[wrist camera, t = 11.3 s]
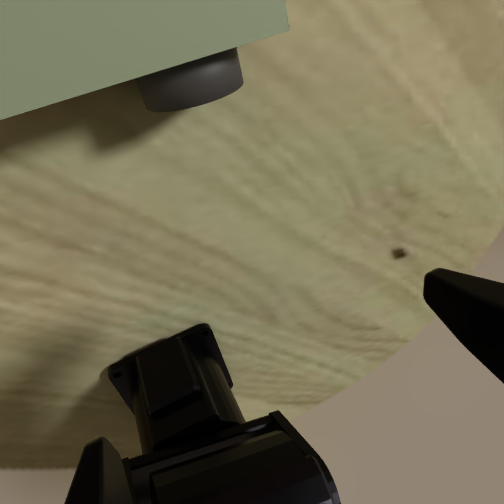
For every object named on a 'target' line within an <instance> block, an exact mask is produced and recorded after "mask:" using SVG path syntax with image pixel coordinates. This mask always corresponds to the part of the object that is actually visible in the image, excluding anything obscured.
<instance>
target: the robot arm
mask: <svg viewBox="0 0 504 504" xmlns="http://www.w3.org/2000/svg"><path fill="white" fill-rule="evenodd" d="M423 296H424V299H425V301H426V303H427V304H428V305H429V307H430V308H431V309H432V310H433V311H434V312H435V314H436V315H437V316H438V317H439V318H440V319H441V320H442V321H443V323H444V324H445V325H446V326H447V327H448V328H449V330H450V331H451V332H452V333H453V334H454V335H455V336H456V338H457V339H458V340H459V341H460V342H461V343H462V344H463V345H464V346H465V347H466V348H467V349H468V350H469V351H470V352H471V353H472V354H473V355H474V356H475V357H476V358H477V359H478V360H479V361H480V362H482V364H483V365H485V366H486V367H487V368H488V369H489V370H490V371H491V372H492V373H493V374H494V375H495V376H496V377H497V378H499V380H501V381H502V382H503V383H504V283H500V282H496V281H492V280H488V279H484V278H480V277H476V276H472V275H468V274H463V273H459V272H455V271H451V270H447V269H443V268H437V269H434V270H432V271H430V272H428V273H427V274H426V275H425V277H424V290H423ZM203 331H205V332H204V333H201V332H203ZM115 372H119V373H115ZM108 376H109V379H110V381H111V382H112V383H113V385H114V386H115V388H116V389H117V391H118V392H119V393H120V395H121V396H122V398H123V399H124V401H125V402H126V403H127V405H128V406H129V408H130V409H131V411H132V412H133V413H134V415H135V417H136V422H137V428H138V433H139V438H140V443H141V448H142V453H143V455H140V456H137V457H134V458H131V459H128V457H127V458H124V459H121V457H120V455H119V453H118V452H117V451H116V449H115V448H114V447H113V446H112V445H111V443H110V442H109V441H108V440H107V439H106V438H105V437H99V438H97V439H95V440H93V441H91V442H89V443H88V444H86V446H85V447H84V449H83V452H82V455H81V458H80V461H79V463H78V466H77V469H76V472H75V475H74V478H73V481H72V483H71V486H70V489H69V492H68V495H67V498H66V501H65V504H341V503H340V498H339V494H338V491H337V488H336V485H335V483H334V480H333V478H332V476H331V474H330V472H329V470H328V468H327V466H326V465H325V463H324V461H323V460H322V459H321V458H320V456H319V455H318V454H317V452H316V451H315V450H314V449H313V448H312V447H311V446H310V445H309V444H308V442H307V441H306V440H305V439H304V438H303V437H302V436H301V435H300V434H299V432H297V430H296V429H295V428H294V427H293V426H292V425H291V424H290V422H289V421H288V420H287V419H286V418H285V417H284V416H283V415H282V413H281V412H280V411H279V410H277V411H274V412H271V413H269V415H267V416H264V417H261V418H258V419H254V420H251V421H248V422H246V421H245V419H244V417H243V415H242V413H241V411H240V408H239V406H238V404H237V402H236V400H235V398H234V396H233V393H232V391H231V388H232V386H233V382H232V380H231V377H230V375H229V372H228V370H227V367H226V365H225V362H224V360H223V357H222V354H221V352H220V349H219V347H218V344H217V342H216V339H215V337H214V334H213V332H212V330H211V328H210V326H209V324H206V323H203V324H200V325H198V326H196V327H193V328H191V329H189V330H187V331H185V332H183V333H180V334H178V335H176V336H174V337H172V338H170V339H168V340H165V341H163V342H161V343H159V344H157V345H155V346H153V347H150V348H148V349H146V350H144V351H142V352H140V353H138V354H135V355H133V356H131V357H129V358H127V359H125V360H123V361H120V362H118V363H116V364H114V365H112V366H111V367H110V368H109V369H108Z"/></svg>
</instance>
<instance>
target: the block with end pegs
mask: <svg viewBox="0 0 504 504" xmlns="http://www.w3.org/2000/svg"><path fill="white" fill-rule="evenodd" d="M286 31H290V30H289V22H288V15H287V7H286V0H0V120H2V119H5V118H8V117H12V116H15V115H18V114H21V113H25V112H28V111H31V110H34V109H38V108H41V107H44V106H47V105H50V104H54V103H57V102H60V101H63V100H67V99H70V98H73V97H76V96H80V95H83V94H86V93H89V92H92V91H96V90H99V89H102V88H105V87H109V86H112V85H115V84H118V83H122V82H125V81H128V80H131V79H135V78H136V81H137V84H138V86H139V89H140V92H141V95H142V97H143V100H144V103H145V106H146V108H147V109H148V110H149V111H153V112H169V111H176V110H182V109H187V108H191V107H196V106H199V105H203V104H206V103H209V102H212V101H215V100H218V99H220V98H223V97H225V96H227V95H229V94H231V93H233V92H235V91H236V90H238V89H239V88H240V87H241V86H242V85H243V83H244V82H243V77H242V72H241V68H240V63H239V58H238V53H237V49H236V47H238V46H241V45H244V44H248V43H251V42H254V41H257V40H261V39H264V38H267V37H270V36H274V35H277V34H280V33H283V32H286Z"/></svg>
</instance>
